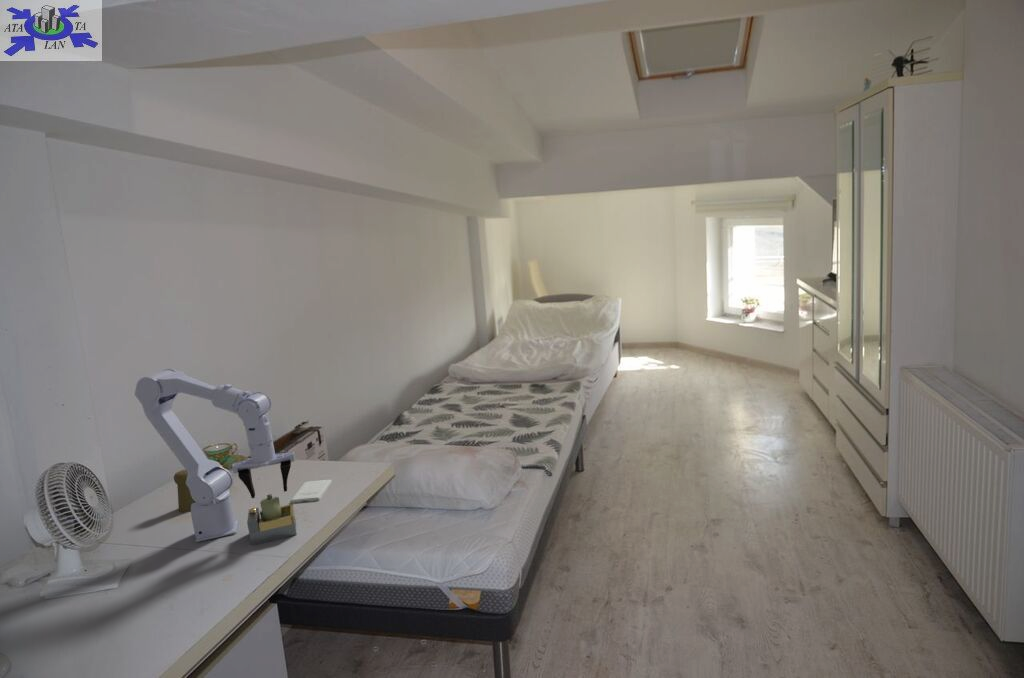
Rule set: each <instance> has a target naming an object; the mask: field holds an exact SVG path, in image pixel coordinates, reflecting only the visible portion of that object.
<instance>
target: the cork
mask: <svg viewBox="0 0 1024 678" xmlns="http://www.w3.org/2000/svg"><path fill="white" fill-rule="evenodd" d="M187 476H188V472H187V471H186V469H182V470H180V471H177V472H176V473H174V476H173V481H174V482H175V484H176V485H177V487H176V488H177V501H178V502H177V503H178V512H180V513H188V512H191V505H192V504H193V503H196V502H195V501H194V500H193V498H192V497H191V494H190V490H189V488H188V486H187V485H186V480H187Z"/></svg>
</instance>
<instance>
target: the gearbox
mask: <svg viewBox="0 0 1024 678" xmlns="http://www.w3.org/2000/svg"><path fill="white" fill-rule="evenodd" d="M280 507H281V513H282V517H281V518H277V519H273V520H268V521H264V520H263V515H262V510H260V509H259V507H253V508H250V509H248V513H247V520H246V521H247V522H246V523H247V524H246V525H247V529H248V533H249V534H248V535H249V539H250V540H249V541H250V545H251V546H254V545H258V544H263V543H268V542H272V541H276V540H280V539H285V538H289V537H293V536H297V520H296V516H295V509H294V503H290V504H285V505H280Z"/></svg>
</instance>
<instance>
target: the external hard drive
mask: <svg viewBox="0 0 1024 678" xmlns="http://www.w3.org/2000/svg"><path fill="white" fill-rule="evenodd" d="M332 483H333V479H323V480H322V479H321V480H310V481H305V482H303V484H302V485H301V487H300V488H299V489H298V490H297V492H296V493H295V494H294V496H293V497H292V498H291V499H290V504H296V503H295V502H297V503H303V502H302V501H305V502H319V501H321V499H322V498H323V496H324V495H325V494H326V493H327V491H328V489H329V488H330V487H331V485H332Z"/></svg>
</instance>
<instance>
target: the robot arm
mask: <svg viewBox="0 0 1024 678" xmlns="http://www.w3.org/2000/svg"><path fill="white" fill-rule="evenodd" d="M178 394H185V395H189V396H193V397H198V398H200V399H201V398H202V399H204V400H209V401H210V402H211V404H212V405H213V407H215V408H217V409H220V410H224V411H227V412H230V413H233V414H236V415H237V416H238V418H239V419H241V421H242V422H243V426H244V427H245V428H244V429H245V433H246V439H247V440H246V441H247V444H248V445H247V446H248V450H249V456H250V458H249V459H246V460H242V461H238V462H234V463H232V465H231V467H232V473H233V474H237V475H238V478H239V479H240V481H241V482H242V483H243V485H244V486H245V487H246V489H247V490H248V493H249V495H250V497H251V499H256V490H255V488H254V484H253V483H254V482H253V479H252V478H253V477H252V471H251V470H253V469H258V468H265V467H267V466H273V465H279V464H280V465H279V466H280V467H279V469H280V472H281V473H280V474H281V478H282V487H283V492H288V479H289V474H290V471H291V467H292V463H294V462H296V457H295V452H294V451H292V452H283V453H281V452H280V453H276V451H275V446H274V439H273V435H272V428H271V423H270V416H269V411H270V410H271V407H272V402H271V399H270V397H269V396H268V395H267V394H266V393H264V392H262V391H255V392H253V393H252V392H250V391H249V390H242V389H239V388H235V387H233V384H230V383H226V384H221V385H219V386H217V387H216V386H214V385H212V384H210V383H206V382H204V381H202V380H198V379H196V378H194V377H191V376H189V375H186V374H185V373H184V372H183V371H181V370H176V369H173V368H166V369H165V368H164V369H163V370H162V371H159V372H157V373H153V374H150V375H148V376H143V377H141V378H140V379H139V380H138V381H137V382H136V385H135V391H134V396H135V397H136V399H137V400H138V402H139V403H140V404H141V406H142V409H143V412H144V414H145V417H146V418H147V420H148V421H149V423H151V426H153V428H154V429H155V431H156V432H157V433H158V435H159V436H160V438H162V441H164V442H165V443H166V445H167V446H168V448H169V449H170V451H172V453H173V454H174V456H175V457H176V459H177V460H178V461H179V463H180V464H181V465H182V467H183V468H184V470H186V471H187V472H188V476H187V480H186V485H187V486H188V488H189V490H190V494H191V497H192V498H193V500H194V501H195V502H196V503H193V504H192V505H191V511H190V515H191V523H192V526H193V531H194V537H195V542H196V543H198V542H203V541H207V540H211V539H216V538H222V537H225V536H229V535H234V534H237V532H238V524H239V519H235V515H234V510H233V505H232V500H231V499H232V498H231V494H230V493H231V488H232V486H233V484H234V477H233V475H232V473H231V472H230V471H229V470H228V469H227V468H224V467H223V466H222V465H221V464H220V462H219V461H216V460H212V459H209V458H208V457H207V455H206V454H205V453H204V451H203V450H202V449H201V447H200V446H199V445H198V443H197V442H196V441H195V439H194V438H193V437H192V436H191V434H190V432H189V431H188V430H187V429H186V427H185V426H184V425H183V424H182V422H181V421H180V419H179V417H177V415H176V414H175V413H174V411H173V410H172V408H173V405H174V404H173V403H174V401H175V399H176V397H177V396H178Z"/></svg>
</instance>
